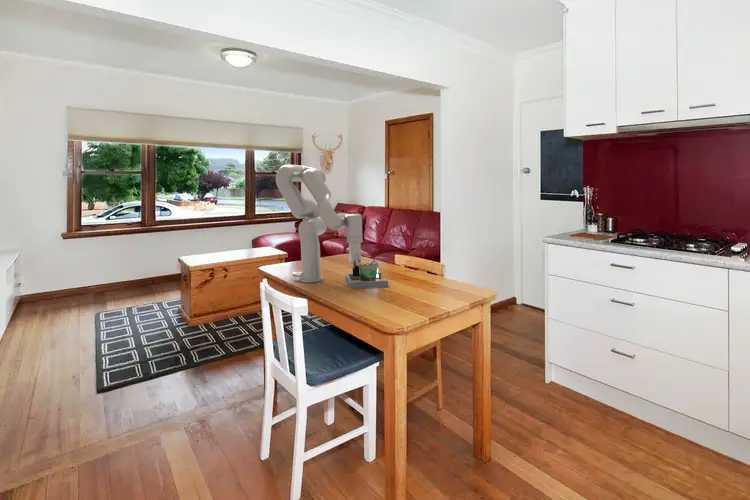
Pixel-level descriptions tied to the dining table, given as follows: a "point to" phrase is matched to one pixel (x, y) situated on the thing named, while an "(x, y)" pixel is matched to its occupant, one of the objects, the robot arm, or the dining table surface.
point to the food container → (368, 271)
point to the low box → (364, 282)
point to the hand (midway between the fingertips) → (356, 275)
